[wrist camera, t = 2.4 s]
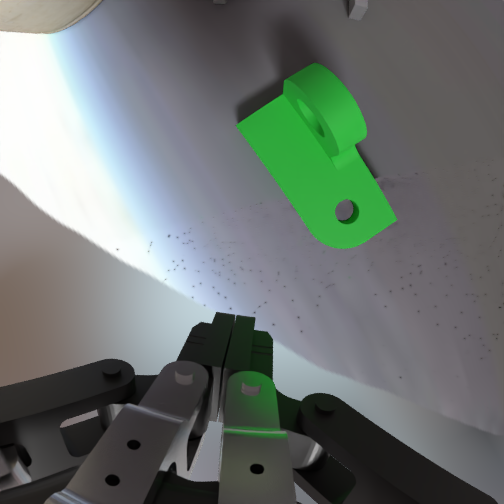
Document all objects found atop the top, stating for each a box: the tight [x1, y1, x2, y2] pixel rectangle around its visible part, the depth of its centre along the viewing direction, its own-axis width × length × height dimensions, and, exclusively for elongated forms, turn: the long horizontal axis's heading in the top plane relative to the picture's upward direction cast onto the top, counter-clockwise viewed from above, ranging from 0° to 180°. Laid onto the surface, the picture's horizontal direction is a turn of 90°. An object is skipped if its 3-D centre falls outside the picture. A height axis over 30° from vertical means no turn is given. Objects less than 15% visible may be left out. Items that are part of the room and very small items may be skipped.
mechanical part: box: [236, 63, 397, 249], centre depth 19 cm, size 12×6×8 cm, turn 35°
